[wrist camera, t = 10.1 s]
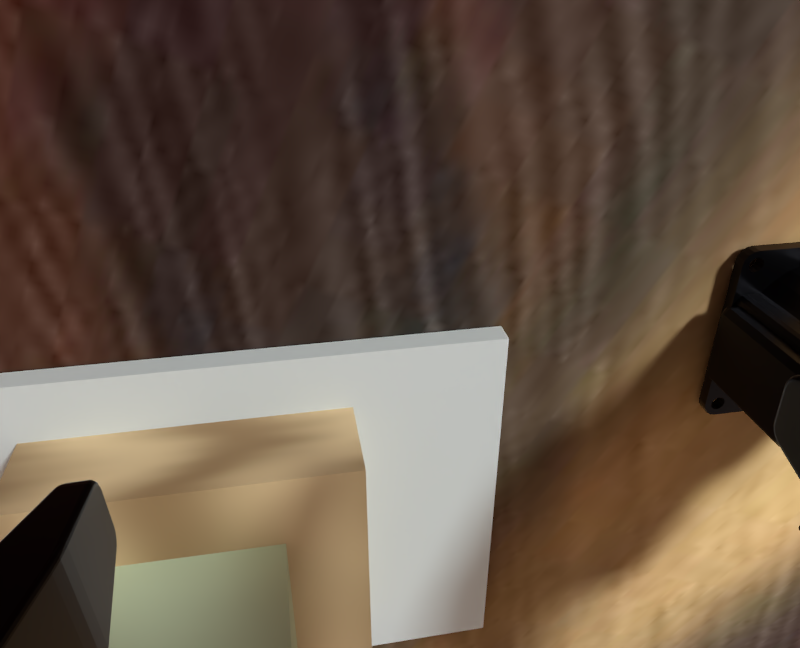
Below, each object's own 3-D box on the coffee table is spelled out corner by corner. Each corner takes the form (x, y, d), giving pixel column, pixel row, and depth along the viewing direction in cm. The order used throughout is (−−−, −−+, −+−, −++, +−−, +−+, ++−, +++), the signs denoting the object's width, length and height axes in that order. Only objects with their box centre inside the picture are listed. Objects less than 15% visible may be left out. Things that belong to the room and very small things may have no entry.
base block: (353, 407, 22) (365, 470, 20) (361, 614, 27) (373, 686, 25) (17, 443, 21) (-18, 517, 18) (91, 656, 26) (73, 737, 23)
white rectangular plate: (501, 326, 23) (508, 338, 22) (477, 611, 30) (483, 627, 29) (-186, 390, 20) (-202, 407, 19) (-31, 692, 26) (-38, 712, 26)
